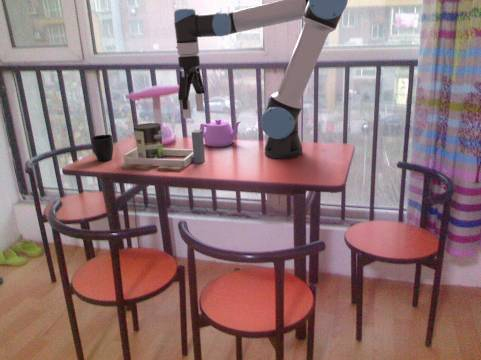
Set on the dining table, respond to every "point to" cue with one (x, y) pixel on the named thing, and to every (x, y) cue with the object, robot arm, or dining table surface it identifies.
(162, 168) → the broken strip
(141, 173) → the dining table surface
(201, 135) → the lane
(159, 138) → the coffee can
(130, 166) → the broken strip
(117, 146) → the dining table surface
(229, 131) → the teapot
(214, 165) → the dining table surface
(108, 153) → the mug
